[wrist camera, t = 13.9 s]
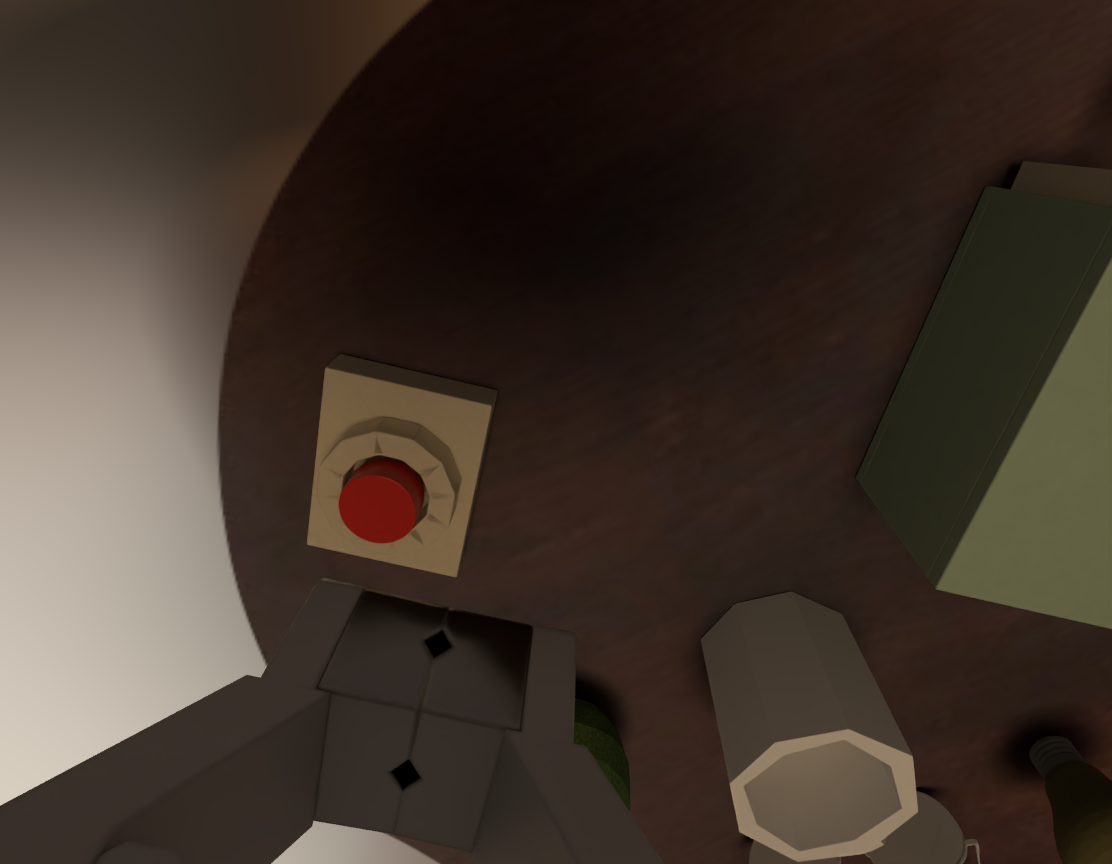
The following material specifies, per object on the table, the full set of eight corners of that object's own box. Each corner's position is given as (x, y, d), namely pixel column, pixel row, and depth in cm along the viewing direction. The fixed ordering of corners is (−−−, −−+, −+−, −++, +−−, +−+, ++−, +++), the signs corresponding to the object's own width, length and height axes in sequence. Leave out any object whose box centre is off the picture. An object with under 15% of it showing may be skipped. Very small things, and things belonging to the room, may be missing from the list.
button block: (340, 353, 36) (310, 379, 32) (498, 390, 36) (487, 420, 32) (320, 523, 40) (293, 564, 36) (463, 555, 40) (450, 598, 36)
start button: (354, 450, 34) (342, 467, 32) (430, 467, 34) (421, 484, 32) (346, 515, 35) (334, 534, 34) (418, 531, 35) (410, 551, 34)
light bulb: (1013, 699, 42) (1128, 861, 33) (1109, 711, 42) (1251, 876, 33) (980, 769, 44) (1081, 939, 35) (1072, 780, 44) (1196, 952, 35)
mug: (672, 637, 42) (693, 780, 33) (806, 564, 39) (869, 698, 30) (778, 765, 45) (824, 927, 36) (907, 706, 43) (991, 863, 34)
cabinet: (985, 185, 31) (1137, 210, 22) (1257, 253, 32) (1510, 305, 23) (854, 478, 37) (934, 590, 28) (1086, 531, 38) (1236, 658, 29)
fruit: (474, 697, 44) (433, 890, 33) (586, 647, 42) (582, 833, 31) (542, 781, 47) (526, 985, 36) (651, 737, 45) (669, 939, 34)
